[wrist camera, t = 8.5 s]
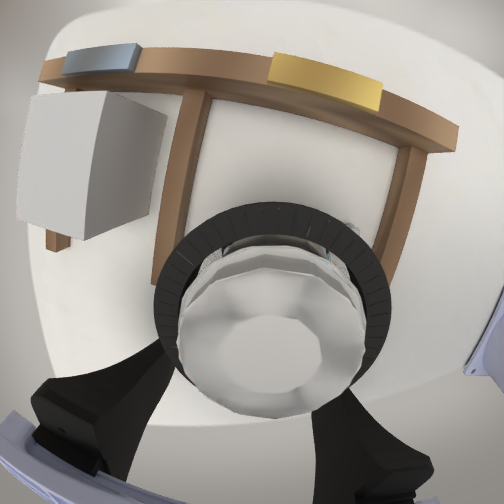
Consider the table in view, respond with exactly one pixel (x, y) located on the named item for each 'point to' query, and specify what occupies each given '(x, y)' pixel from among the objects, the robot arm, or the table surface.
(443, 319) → the table surface
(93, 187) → the grey plug block
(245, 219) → the push button
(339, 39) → the table surface
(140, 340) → the table surface
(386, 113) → the wooden bench frame
